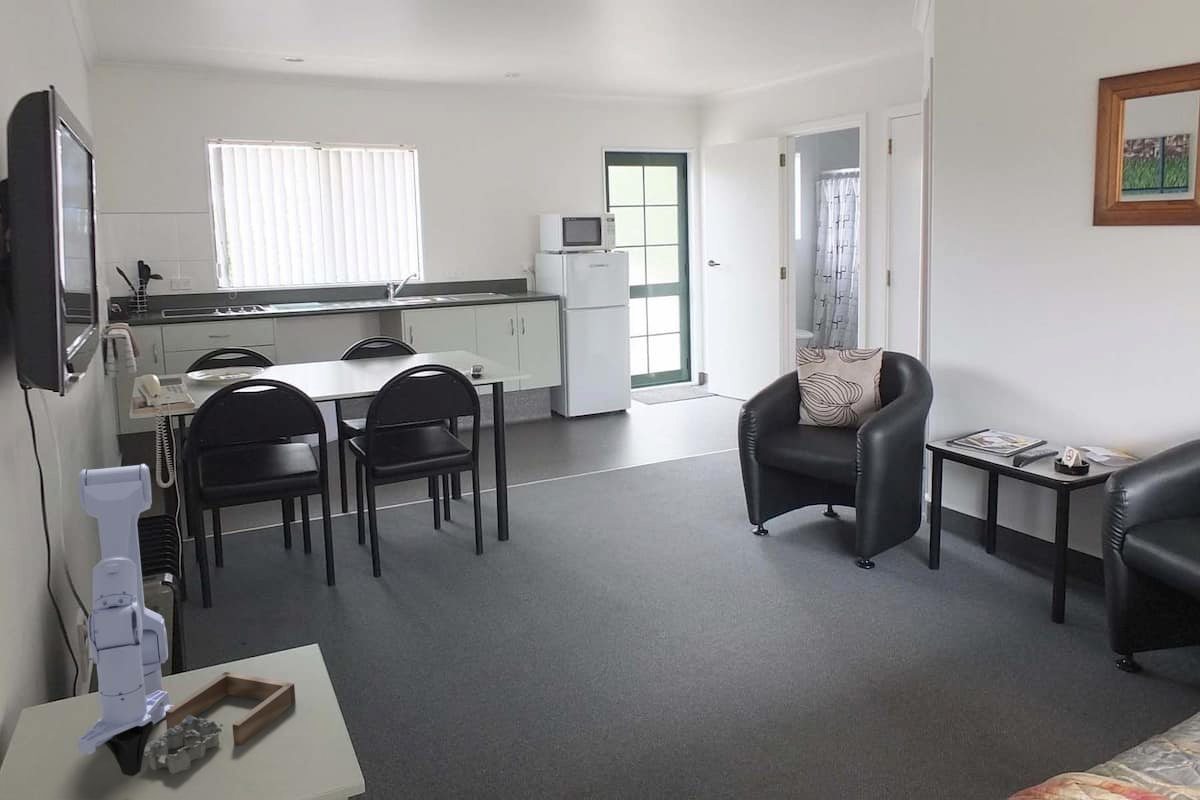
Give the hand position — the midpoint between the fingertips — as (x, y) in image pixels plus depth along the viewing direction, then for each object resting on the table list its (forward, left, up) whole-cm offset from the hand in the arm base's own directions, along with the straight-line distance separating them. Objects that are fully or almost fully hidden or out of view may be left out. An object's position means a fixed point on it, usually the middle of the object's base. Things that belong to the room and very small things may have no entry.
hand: (131, 772), depth 134 cm
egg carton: (0, +10, -3) cm, 11 cm away
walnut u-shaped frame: (0, +22, -3) cm, 22 cm away
